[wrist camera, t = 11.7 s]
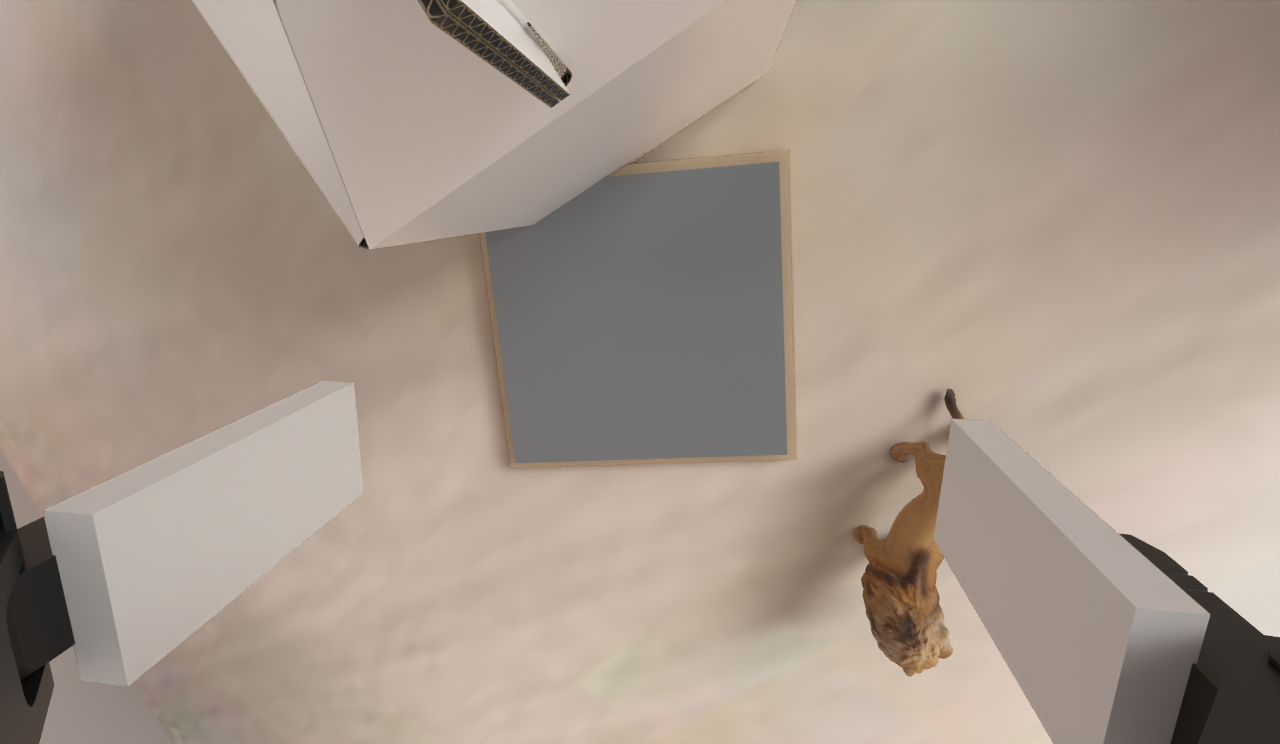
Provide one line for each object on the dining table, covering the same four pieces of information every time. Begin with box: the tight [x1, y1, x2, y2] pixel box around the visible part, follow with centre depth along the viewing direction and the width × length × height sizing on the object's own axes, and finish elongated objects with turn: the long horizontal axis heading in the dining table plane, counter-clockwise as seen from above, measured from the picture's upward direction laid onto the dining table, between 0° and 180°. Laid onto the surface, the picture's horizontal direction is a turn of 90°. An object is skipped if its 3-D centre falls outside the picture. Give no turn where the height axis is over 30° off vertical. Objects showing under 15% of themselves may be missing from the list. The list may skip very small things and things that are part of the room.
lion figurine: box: [854, 389, 964, 676], centre depth 31 cm, size 12×4×7 cm, turn 168°
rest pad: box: [480, 150, 796, 468], centre depth 33 cm, size 15×15×1 cm
